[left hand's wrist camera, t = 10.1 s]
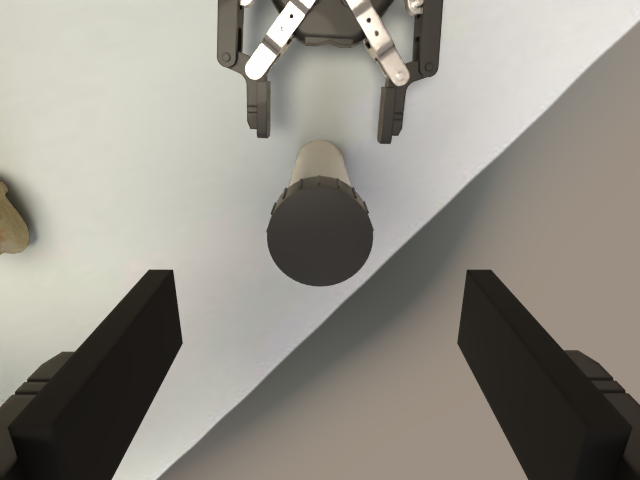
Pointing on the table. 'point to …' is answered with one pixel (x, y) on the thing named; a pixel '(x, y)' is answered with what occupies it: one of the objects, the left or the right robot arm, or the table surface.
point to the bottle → (319, 162)
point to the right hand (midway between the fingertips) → (324, 139)
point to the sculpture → (11, 226)
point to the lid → (320, 231)
